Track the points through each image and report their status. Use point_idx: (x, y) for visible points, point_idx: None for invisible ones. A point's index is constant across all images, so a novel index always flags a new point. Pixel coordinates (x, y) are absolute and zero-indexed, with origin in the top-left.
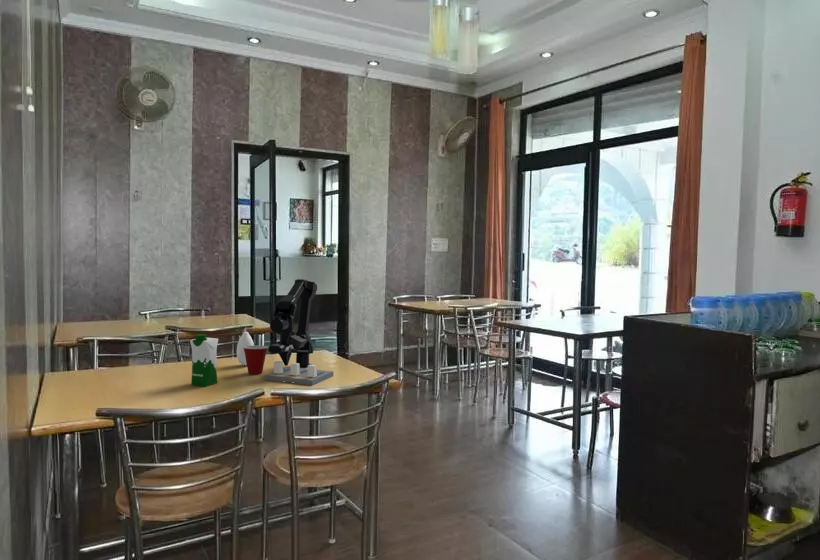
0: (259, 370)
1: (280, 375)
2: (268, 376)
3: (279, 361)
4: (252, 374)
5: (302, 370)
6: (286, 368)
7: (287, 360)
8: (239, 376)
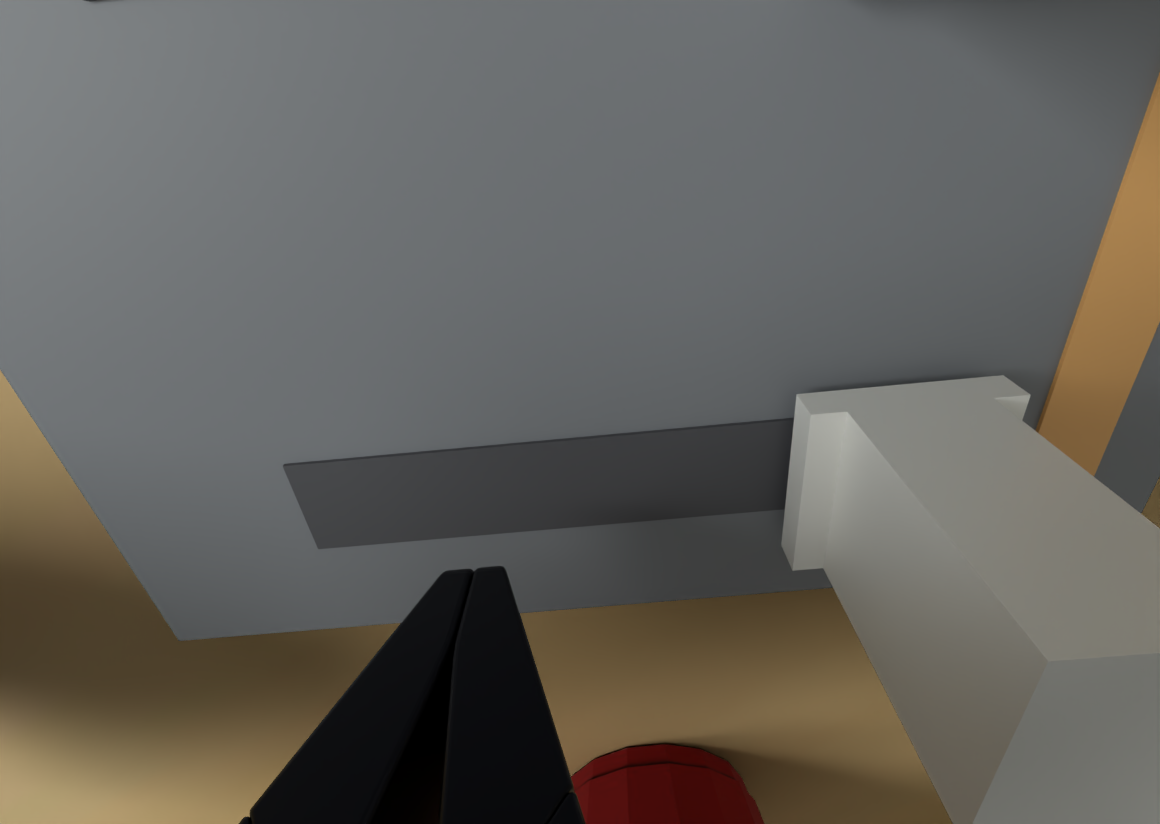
0: (700, 801)
1: (1126, 262)
2: (1132, 487)
3: (1009, 764)
4: (741, 782)
5: (167, 86)
6: (335, 592)
7: (493, 705)
8: (887, 817)
